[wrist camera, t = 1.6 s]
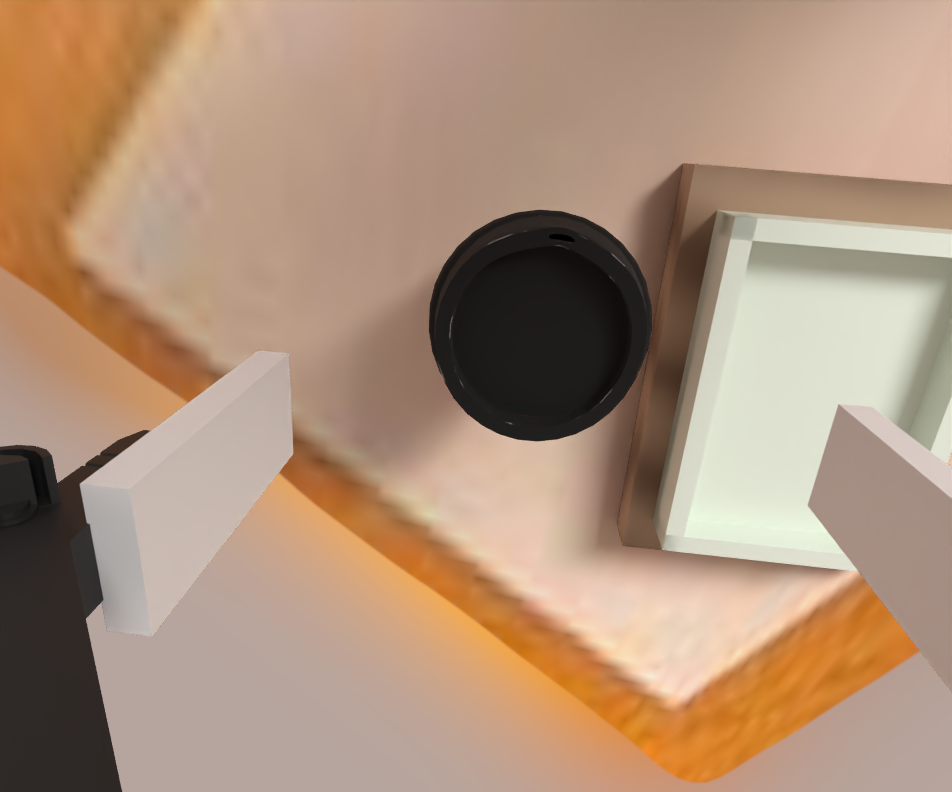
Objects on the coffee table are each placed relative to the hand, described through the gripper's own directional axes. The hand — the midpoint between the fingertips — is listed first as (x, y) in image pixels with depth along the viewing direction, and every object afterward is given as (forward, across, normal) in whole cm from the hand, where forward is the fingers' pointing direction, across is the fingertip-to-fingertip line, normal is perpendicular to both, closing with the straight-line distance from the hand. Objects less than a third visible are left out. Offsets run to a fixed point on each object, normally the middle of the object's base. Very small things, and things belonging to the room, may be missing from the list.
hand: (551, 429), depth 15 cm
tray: (+19, +15, -5) cm, 25 cm away
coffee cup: (+22, 0, 0) cm, 22 cm away
